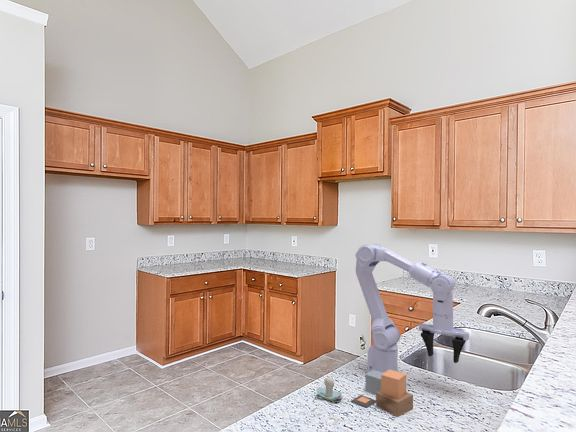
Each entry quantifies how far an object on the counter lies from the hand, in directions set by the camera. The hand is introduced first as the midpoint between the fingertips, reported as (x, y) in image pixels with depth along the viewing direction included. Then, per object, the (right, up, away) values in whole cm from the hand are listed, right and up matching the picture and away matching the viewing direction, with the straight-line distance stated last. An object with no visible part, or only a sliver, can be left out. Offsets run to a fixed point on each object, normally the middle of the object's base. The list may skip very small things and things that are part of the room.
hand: (443, 358), depth 110 cm
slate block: (-21, -9, -1) cm, 23 cm away
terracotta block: (-18, -5, -11) cm, 22 cm away
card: (-26, -9, -9) cm, 29 cm away
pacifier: (-35, -9, -6) cm, 37 cm away
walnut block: (-18, -9, -11) cm, 23 cm away
